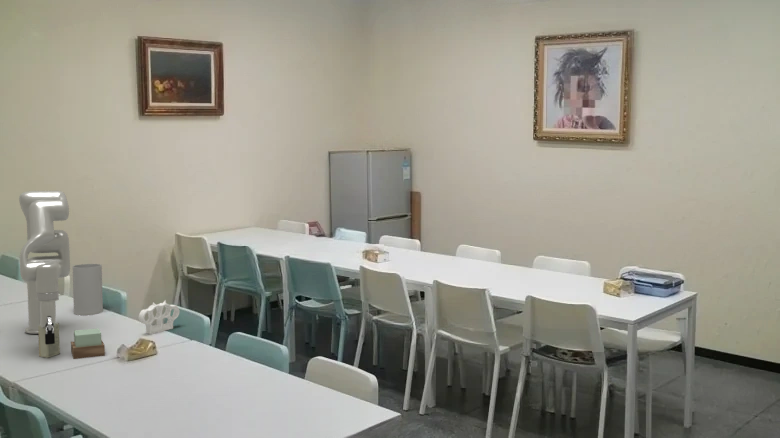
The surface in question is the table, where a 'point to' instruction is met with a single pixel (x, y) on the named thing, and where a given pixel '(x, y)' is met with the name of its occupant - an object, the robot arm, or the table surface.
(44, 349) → the skincare box
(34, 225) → the robot arm
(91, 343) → the tower top block
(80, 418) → the table surface
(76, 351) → the tower base block
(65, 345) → the table surface
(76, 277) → the cylinder vase
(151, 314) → the white brass knuckles
